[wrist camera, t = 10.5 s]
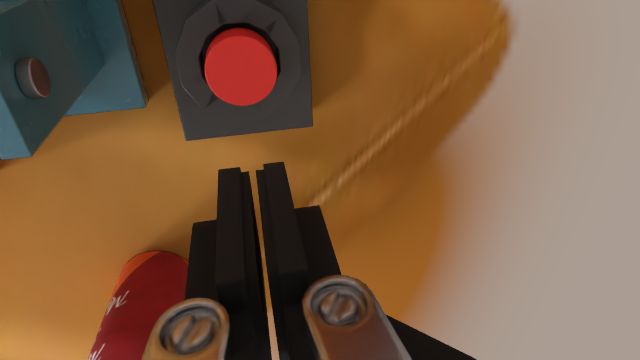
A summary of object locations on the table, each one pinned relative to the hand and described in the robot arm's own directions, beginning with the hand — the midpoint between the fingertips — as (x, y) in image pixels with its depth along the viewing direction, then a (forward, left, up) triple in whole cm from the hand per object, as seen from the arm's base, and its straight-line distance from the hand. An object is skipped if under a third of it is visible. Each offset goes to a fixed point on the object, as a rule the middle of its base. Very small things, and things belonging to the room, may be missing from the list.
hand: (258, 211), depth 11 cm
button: (0, 0, -13) cm, 13 cm away
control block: (0, 0, -17) cm, 17 cm away
